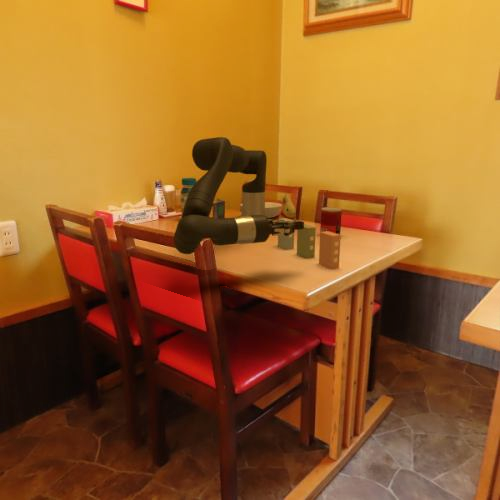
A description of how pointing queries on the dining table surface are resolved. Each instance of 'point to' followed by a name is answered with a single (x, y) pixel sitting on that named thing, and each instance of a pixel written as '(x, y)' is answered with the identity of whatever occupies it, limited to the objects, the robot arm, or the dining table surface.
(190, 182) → the beverage bottle
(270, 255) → the dining table surface
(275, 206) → the serving bowl
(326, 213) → the canned food
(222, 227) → the robot arm
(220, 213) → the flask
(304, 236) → the digit tile 2
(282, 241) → the digit tile 1
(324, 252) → the digit tile 3
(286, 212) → the yellow pear
